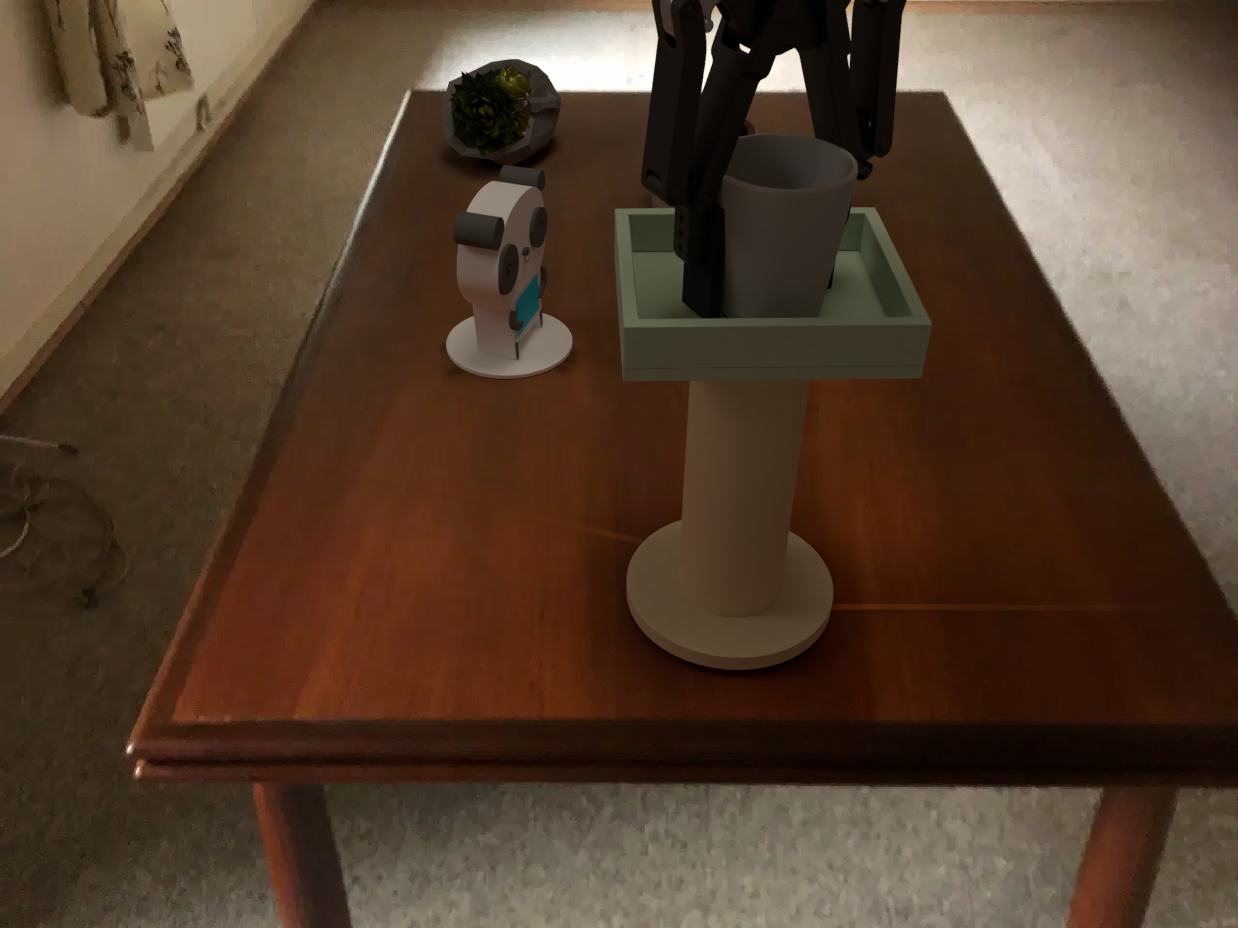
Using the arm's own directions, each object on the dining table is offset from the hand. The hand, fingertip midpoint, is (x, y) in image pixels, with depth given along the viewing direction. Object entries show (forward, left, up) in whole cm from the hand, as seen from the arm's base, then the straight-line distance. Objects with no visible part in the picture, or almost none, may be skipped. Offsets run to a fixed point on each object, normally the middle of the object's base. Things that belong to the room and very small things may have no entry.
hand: (757, 294), depth 64 cm
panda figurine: (+36, 0, -23) cm, 43 cm away
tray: (0, 0, -23) cm, 23 cm away
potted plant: (+74, -17, -23) cm, 79 cm away
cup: (0, -1, 0) cm, 1 cm away
